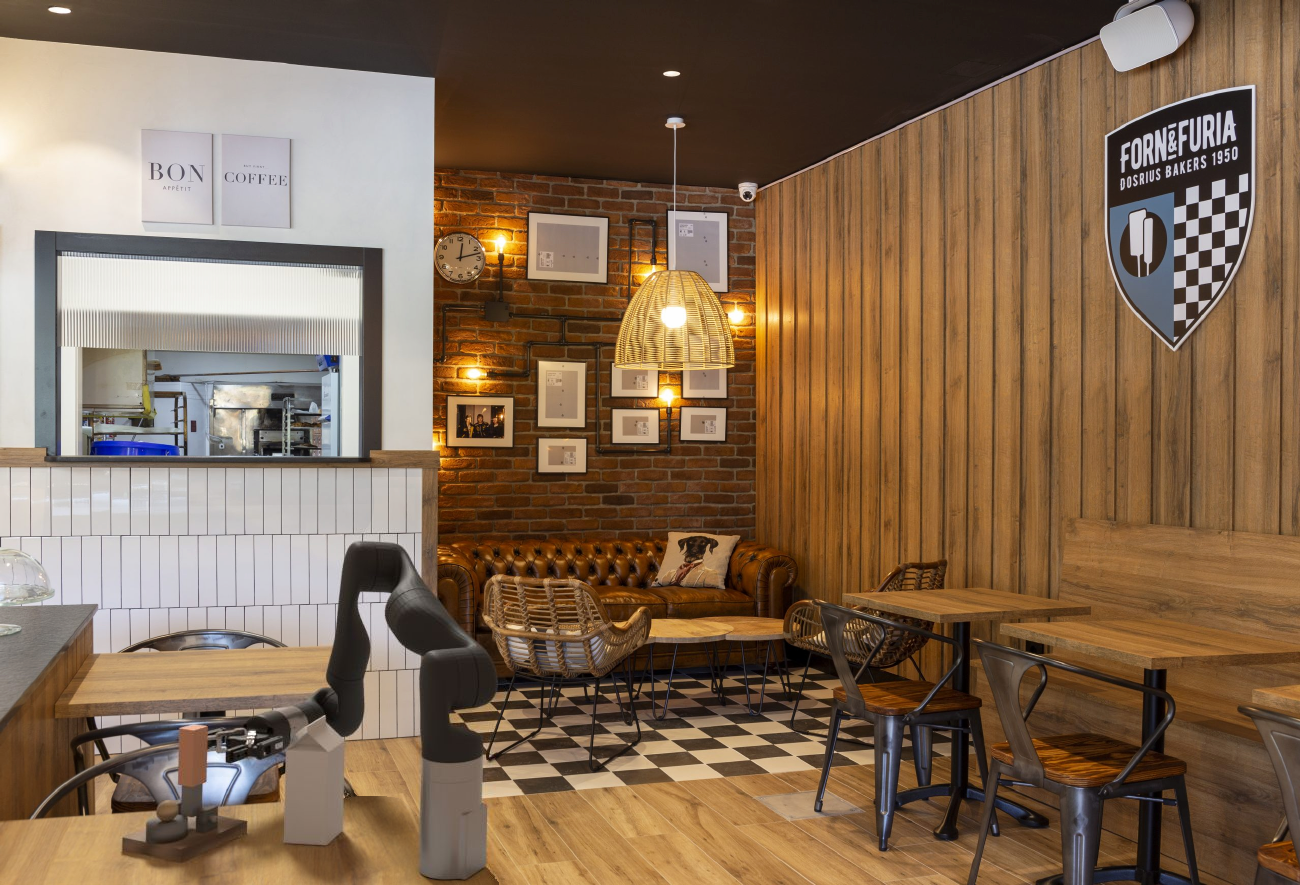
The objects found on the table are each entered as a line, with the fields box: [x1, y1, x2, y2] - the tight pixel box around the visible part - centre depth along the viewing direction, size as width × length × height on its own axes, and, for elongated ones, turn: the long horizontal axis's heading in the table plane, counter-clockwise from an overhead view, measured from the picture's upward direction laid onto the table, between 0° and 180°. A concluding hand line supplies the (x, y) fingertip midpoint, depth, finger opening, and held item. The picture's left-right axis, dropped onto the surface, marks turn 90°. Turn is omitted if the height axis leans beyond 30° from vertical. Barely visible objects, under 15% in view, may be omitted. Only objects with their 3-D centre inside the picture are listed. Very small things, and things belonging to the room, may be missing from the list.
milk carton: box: [283, 715, 346, 846], centre depth 177 cm, size 7×7×19 cm
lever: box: [177, 723, 209, 817], centre depth 175 cm, size 3×3×14 cm
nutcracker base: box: [121, 798, 248, 863], centre depth 174 cm, size 12×14×8 cm
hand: (206, 754), depth 178 cm, fingers open, 8 cm apart
